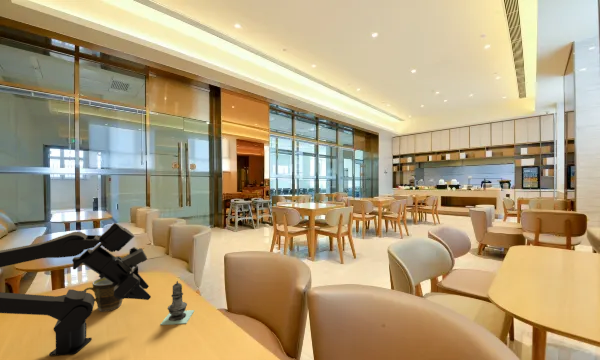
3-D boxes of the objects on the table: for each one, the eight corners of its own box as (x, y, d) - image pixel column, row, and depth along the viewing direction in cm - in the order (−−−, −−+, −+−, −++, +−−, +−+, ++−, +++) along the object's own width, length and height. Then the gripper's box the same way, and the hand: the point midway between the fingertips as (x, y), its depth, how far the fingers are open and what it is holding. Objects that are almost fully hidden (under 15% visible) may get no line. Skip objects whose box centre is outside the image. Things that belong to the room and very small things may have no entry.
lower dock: (186, 323, 82) (186, 322, 82) (160, 325, 81) (160, 324, 81) (194, 310, 90) (194, 310, 90) (170, 312, 89) (170, 311, 89)
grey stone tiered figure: (175, 323, 81) (174, 285, 81) (163, 318, 84) (163, 282, 84) (190, 314, 87) (190, 279, 87) (179, 310, 89) (179, 276, 89)
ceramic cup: (118, 298, 100) (118, 272, 100) (132, 304, 95) (131, 277, 95) (76, 313, 89) (76, 284, 89) (89, 321, 84) (89, 290, 84)
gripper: (129, 248, 70) (173, 280, 76) (128, 236, 86) (165, 263, 92) (92, 283, 66) (142, 314, 72) (98, 264, 81) (139, 290, 87)
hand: (148, 292), depth 81 cm, fingers open, 9 cm apart
